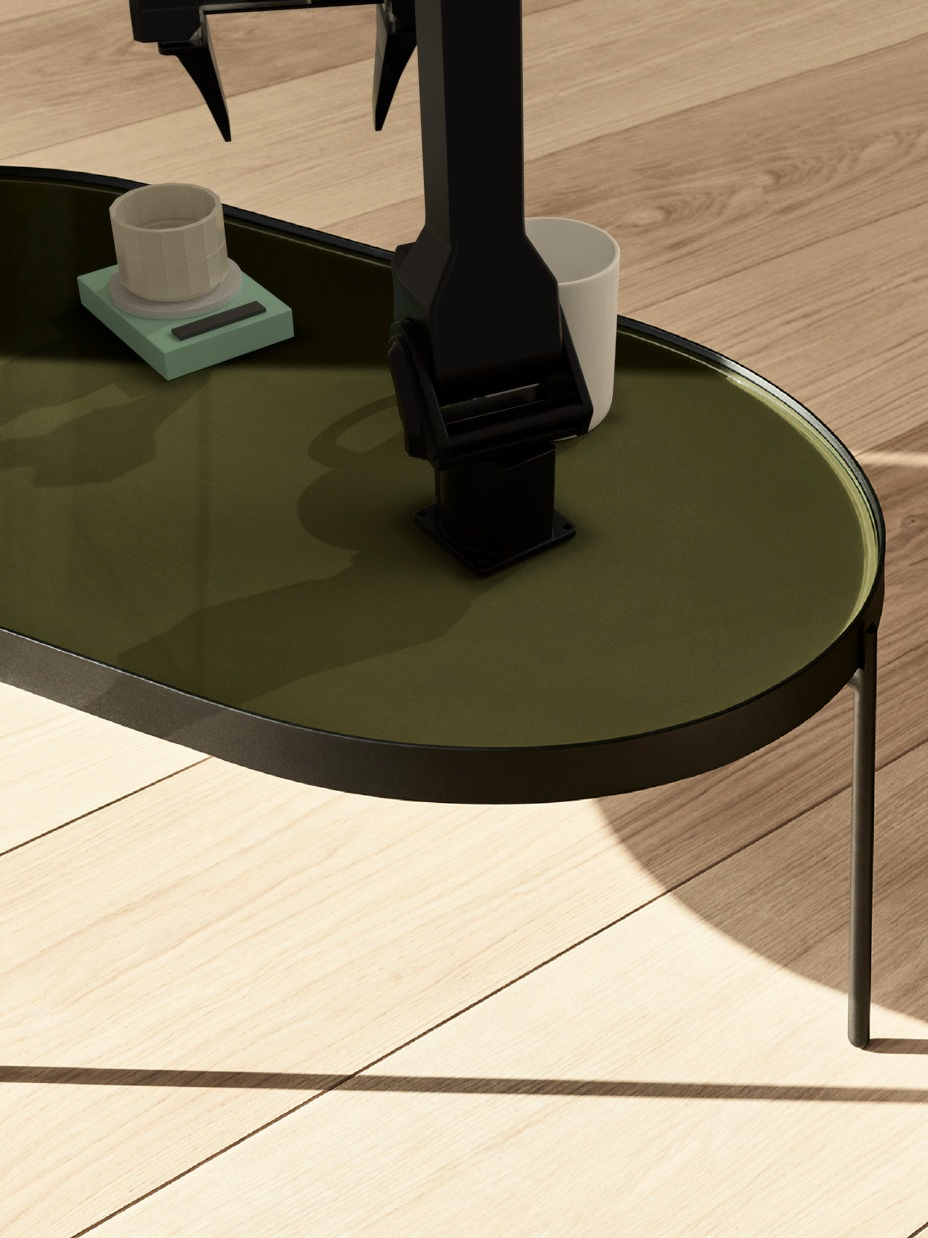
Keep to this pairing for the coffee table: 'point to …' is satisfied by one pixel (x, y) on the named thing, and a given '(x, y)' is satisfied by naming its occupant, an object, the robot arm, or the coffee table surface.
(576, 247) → the cup
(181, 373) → the scale
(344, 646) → the coffee table surface
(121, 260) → the bowl
